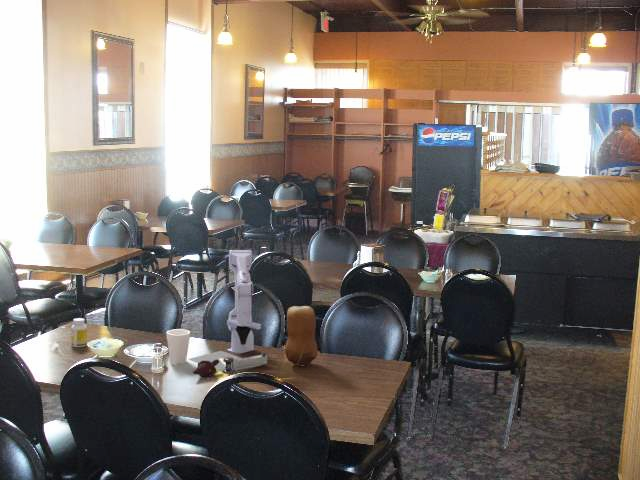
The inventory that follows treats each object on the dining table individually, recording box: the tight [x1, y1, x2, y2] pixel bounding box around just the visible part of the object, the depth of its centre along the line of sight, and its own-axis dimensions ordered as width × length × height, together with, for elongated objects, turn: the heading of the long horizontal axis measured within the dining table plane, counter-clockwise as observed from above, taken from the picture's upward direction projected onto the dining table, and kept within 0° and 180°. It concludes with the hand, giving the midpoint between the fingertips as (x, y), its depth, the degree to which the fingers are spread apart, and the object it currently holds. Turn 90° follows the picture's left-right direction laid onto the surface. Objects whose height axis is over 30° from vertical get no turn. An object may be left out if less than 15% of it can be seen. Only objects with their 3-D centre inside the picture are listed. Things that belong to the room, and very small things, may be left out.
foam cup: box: [166, 328, 191, 366], centre depth 317 cm, size 10×9×13 cm
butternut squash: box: [284, 305, 319, 367], centre depth 320 cm, size 14×13×25 cm
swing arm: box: [223, 351, 268, 370], centre depth 312 cm, size 20×4×4 cm, turn 127°
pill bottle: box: [70, 317, 88, 348], centre depth 336 cm, size 6×6×12 cm
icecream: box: [192, 359, 219, 378], centre depth 302 cm, size 7×7×15 cm
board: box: [188, 350, 263, 375], centre depth 320 cm, size 18×26×1 cm
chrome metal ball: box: [221, 363, 235, 374], centre depth 308 cm, size 5×5×4 cm
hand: (243, 344), depth 319 cm, fingers closed
